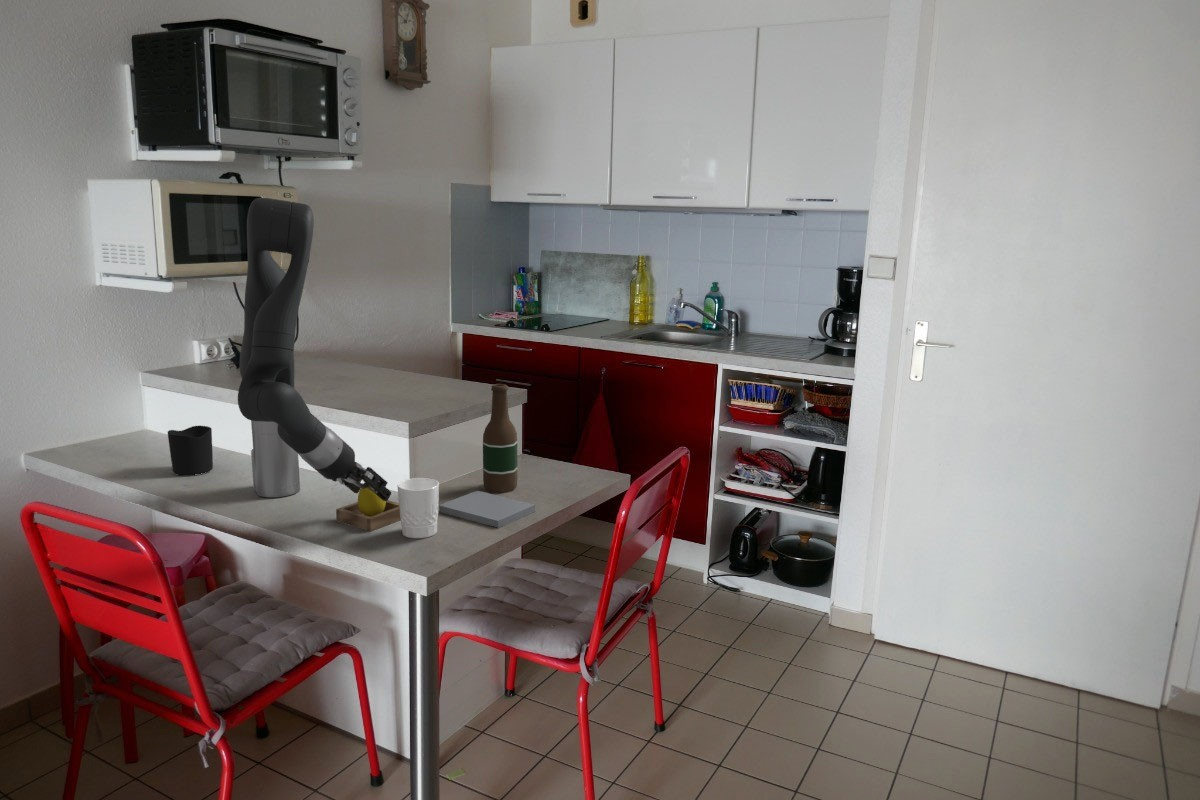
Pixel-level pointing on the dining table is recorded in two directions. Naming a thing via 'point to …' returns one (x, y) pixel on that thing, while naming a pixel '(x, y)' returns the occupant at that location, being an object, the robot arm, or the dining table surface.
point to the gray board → (487, 508)
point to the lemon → (370, 503)
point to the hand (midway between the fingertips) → (373, 493)
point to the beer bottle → (500, 446)
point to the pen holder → (191, 450)
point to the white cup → (418, 507)
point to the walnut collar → (357, 519)
